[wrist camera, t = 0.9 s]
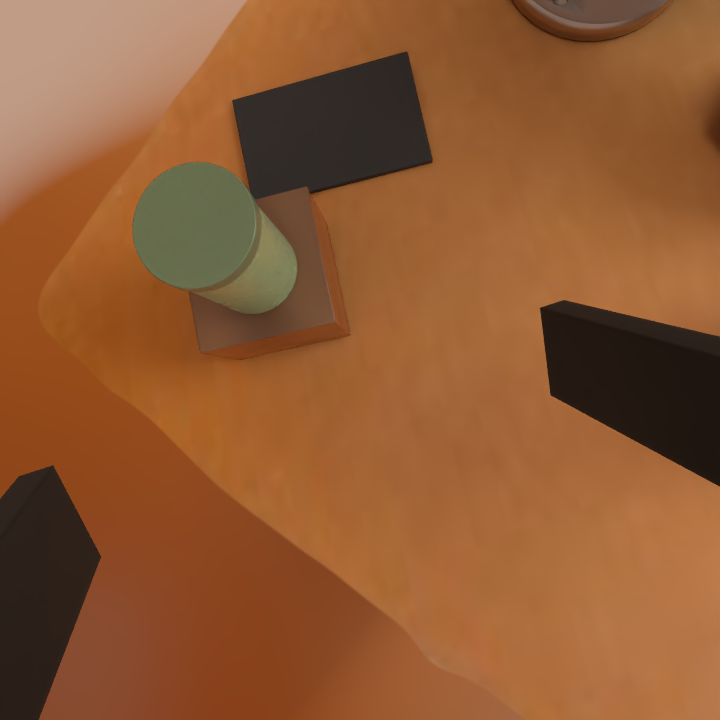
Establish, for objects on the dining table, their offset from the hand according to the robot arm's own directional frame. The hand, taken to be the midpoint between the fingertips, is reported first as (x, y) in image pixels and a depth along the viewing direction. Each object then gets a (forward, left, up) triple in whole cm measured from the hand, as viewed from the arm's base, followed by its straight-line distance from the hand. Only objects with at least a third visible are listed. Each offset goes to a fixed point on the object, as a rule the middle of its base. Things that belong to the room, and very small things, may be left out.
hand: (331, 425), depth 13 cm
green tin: (+7, -11, -20) cm, 24 cm away
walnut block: (+7, -11, -28) cm, 31 cm away
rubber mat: (0, -24, -28) cm, 37 cm away
